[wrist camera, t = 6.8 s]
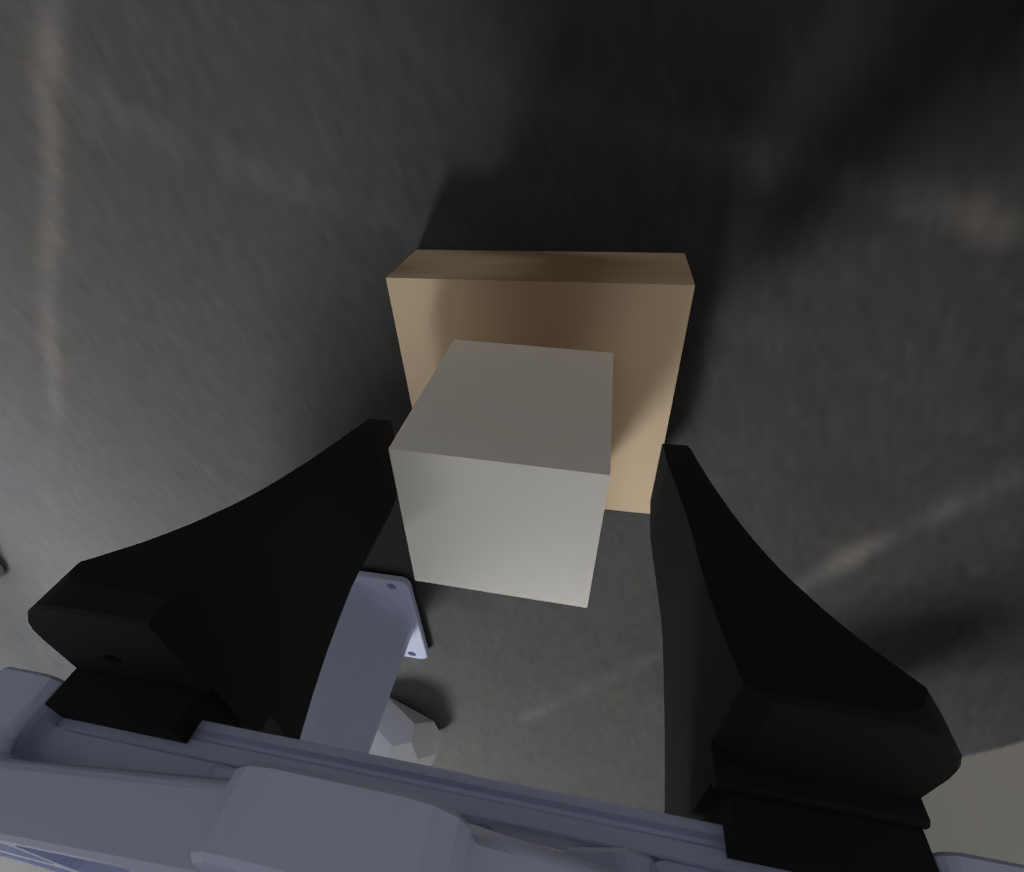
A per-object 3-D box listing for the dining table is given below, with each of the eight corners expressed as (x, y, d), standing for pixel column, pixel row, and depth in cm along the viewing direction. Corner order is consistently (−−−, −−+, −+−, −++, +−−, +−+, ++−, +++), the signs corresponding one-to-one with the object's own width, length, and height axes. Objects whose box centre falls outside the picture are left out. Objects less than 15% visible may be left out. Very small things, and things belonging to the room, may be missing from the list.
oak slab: (451, 441, 20) (428, 491, 18) (421, 245, 15) (385, 277, 13) (647, 457, 19) (650, 513, 17) (683, 247, 14) (695, 285, 12)
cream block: (463, 458, 16) (415, 580, 13) (453, 338, 14) (388, 448, 10) (595, 474, 16) (587, 607, 12) (613, 352, 13) (610, 475, 9)
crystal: (337, 725, 31) (216, 771, 44) (394, 827, 30) (253, 843, 44) (415, 656, 37) (289, 715, 51) (464, 740, 37) (322, 777, 50)
